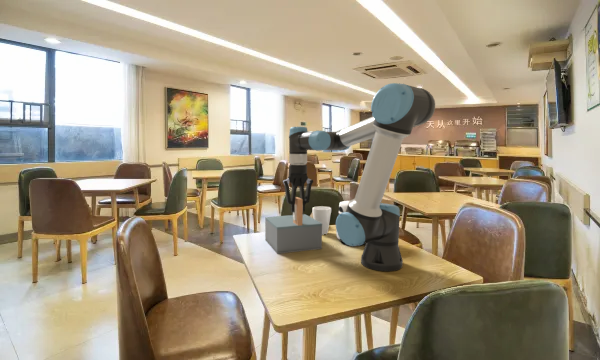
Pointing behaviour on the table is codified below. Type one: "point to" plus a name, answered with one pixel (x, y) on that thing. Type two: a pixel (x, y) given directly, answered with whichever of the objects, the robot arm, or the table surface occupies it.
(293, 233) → the carton
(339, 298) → the table surface
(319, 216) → the foam cup
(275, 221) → the lid flap
